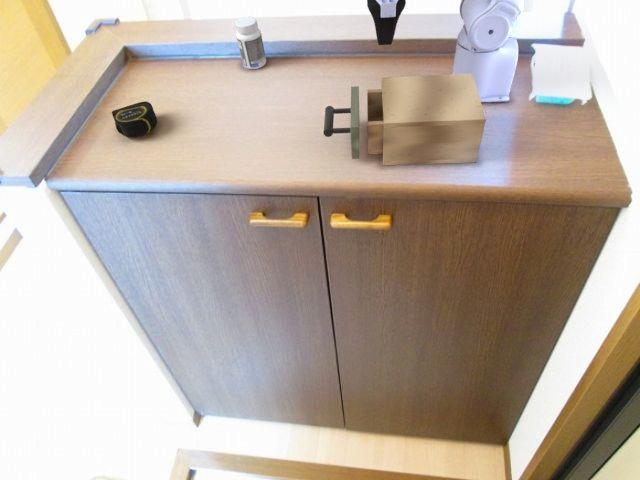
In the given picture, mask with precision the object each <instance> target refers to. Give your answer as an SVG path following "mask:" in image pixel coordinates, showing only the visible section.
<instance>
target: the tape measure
mask: <svg viewBox="0 0 640 480" xmlns="http://www.w3.org/2000/svg"><path fill="white" fill-rule="evenodd" d="M111 115H112V118H113V120H114V124H115V128H116V131H117V132H118V133H119V134H121V135H122V136H124V137H126V138H139V137H143V136H145V135H147V134H149V133H151V132H152V131H154V129H155V128H156V127H157V125H158V119H157V115H156V113H155V110H154V107H153V104H152V103H151V102H149V101H140V102H137V103H133V104H130V105H129V104H128V105H127V106H124V107H120V108H118V109H117V108H116V109H114V110H112V111H111Z"/></svg>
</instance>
